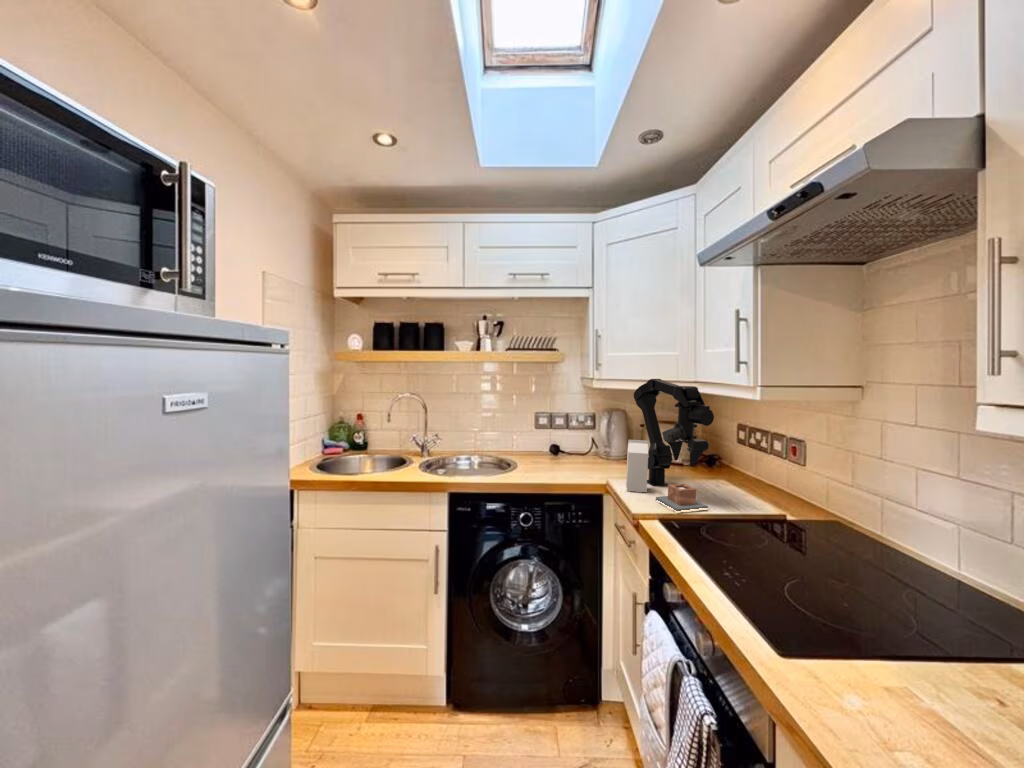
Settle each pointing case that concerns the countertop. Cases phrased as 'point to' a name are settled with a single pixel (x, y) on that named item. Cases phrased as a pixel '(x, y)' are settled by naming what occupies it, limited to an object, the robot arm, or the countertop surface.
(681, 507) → the key base
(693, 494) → the collar
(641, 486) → the milk carton
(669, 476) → the countertop surface
